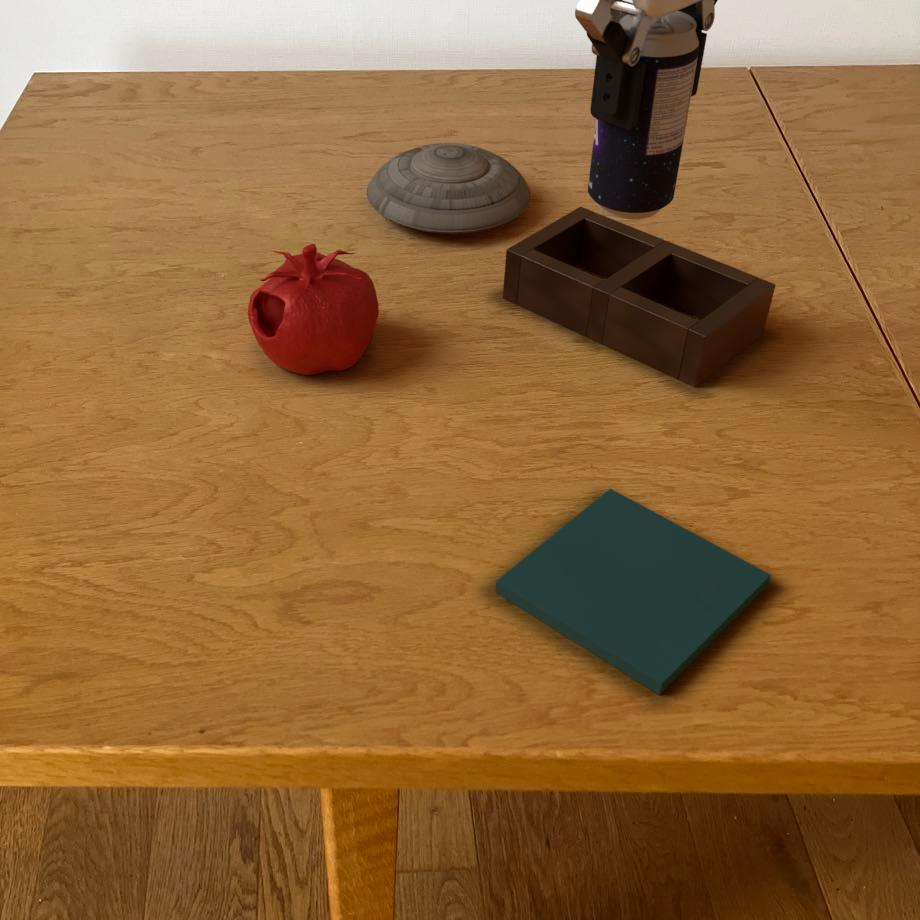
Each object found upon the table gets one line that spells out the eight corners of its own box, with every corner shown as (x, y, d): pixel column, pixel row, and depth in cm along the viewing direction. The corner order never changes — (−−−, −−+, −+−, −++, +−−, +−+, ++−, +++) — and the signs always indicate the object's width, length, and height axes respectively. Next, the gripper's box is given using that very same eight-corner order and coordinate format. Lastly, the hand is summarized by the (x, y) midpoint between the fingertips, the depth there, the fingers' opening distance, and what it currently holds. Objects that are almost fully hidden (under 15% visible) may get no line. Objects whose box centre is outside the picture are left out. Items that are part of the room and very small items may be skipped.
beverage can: (656, 182, 83) (684, 1, 75) (683, 221, 79) (717, 35, 70) (576, 188, 82) (596, 7, 74) (599, 228, 78) (624, 41, 70)
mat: (768, 586, 74) (771, 574, 73) (659, 695, 68) (662, 683, 67) (608, 499, 80) (610, 488, 79) (494, 592, 74) (495, 580, 73)
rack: (763, 334, 95) (776, 284, 92) (695, 387, 90) (706, 336, 87) (574, 253, 104) (580, 206, 101) (502, 298, 99) (506, 249, 96)
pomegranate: (382, 318, 97) (382, 211, 90) (374, 390, 89) (373, 280, 83) (261, 313, 97) (252, 208, 91) (242, 385, 90) (232, 275, 84)
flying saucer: (338, 192, 113) (336, 136, 109) (472, 157, 118) (475, 103, 114) (420, 262, 103) (421, 203, 99) (561, 221, 109) (568, 164, 105)
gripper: (657, -189, 57) (610, 169, 69) (838, -242, 66) (767, 83, 78) (534, -212, 61) (510, 131, 73) (720, -259, 70) (671, 53, 82)
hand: (643, 103), depth 76 cm, fingers closed on beverage can, 5 cm apart
